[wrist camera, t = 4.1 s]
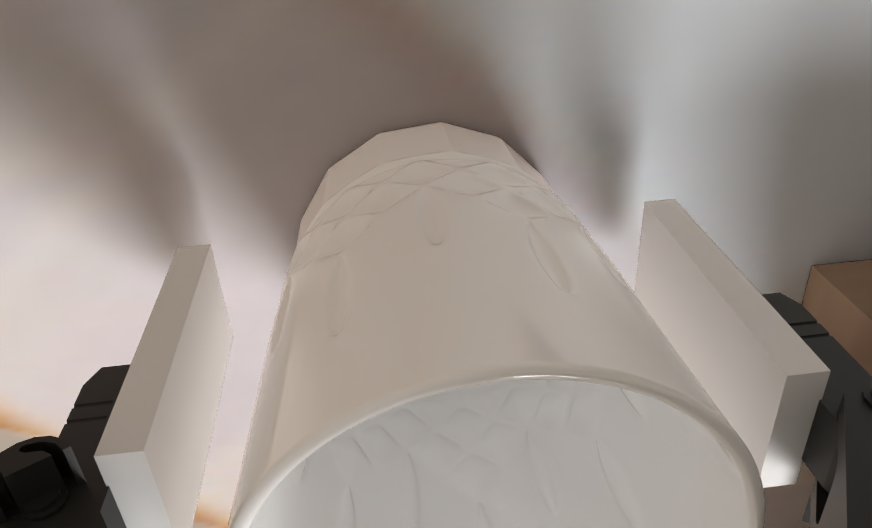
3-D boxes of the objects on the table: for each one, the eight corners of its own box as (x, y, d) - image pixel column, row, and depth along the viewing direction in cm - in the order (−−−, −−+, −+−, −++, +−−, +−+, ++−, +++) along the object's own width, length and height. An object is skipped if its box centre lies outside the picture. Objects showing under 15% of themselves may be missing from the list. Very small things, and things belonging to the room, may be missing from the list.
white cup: (477, 393, 22) (562, 754, 13) (229, 299, 19) (137, 677, 11) (634, 183, 19) (881, 479, 10) (364, 35, 16) (388, 268, 7)
